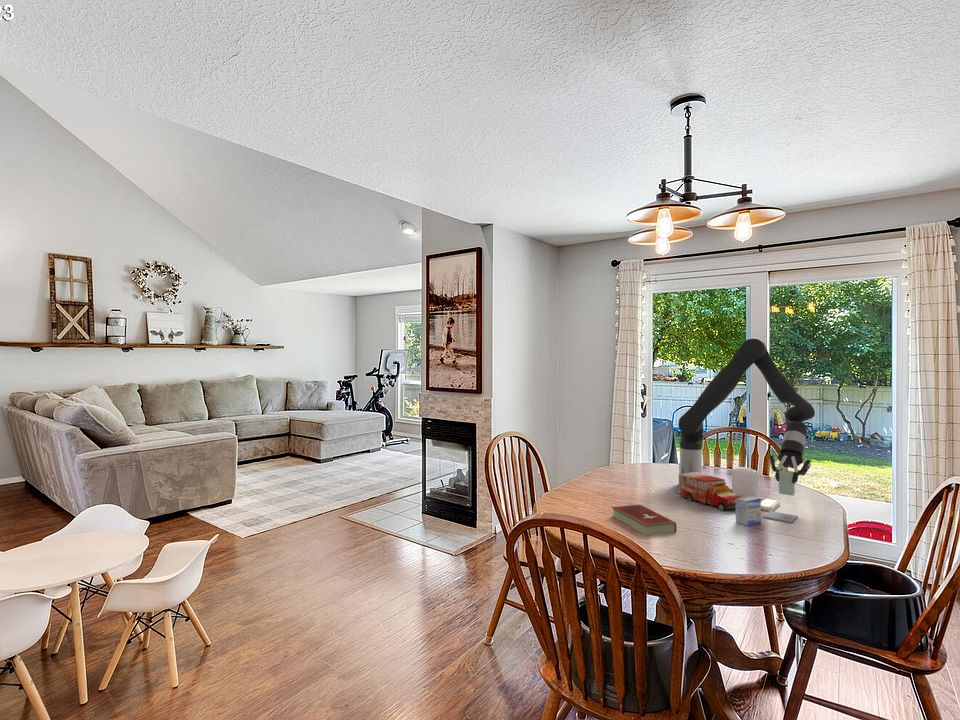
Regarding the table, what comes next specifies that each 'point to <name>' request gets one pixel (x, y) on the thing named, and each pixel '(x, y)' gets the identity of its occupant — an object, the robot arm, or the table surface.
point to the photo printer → (745, 482)
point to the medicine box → (748, 510)
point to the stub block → (786, 483)
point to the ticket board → (769, 504)
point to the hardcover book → (644, 519)
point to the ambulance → (707, 490)
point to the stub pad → (780, 516)
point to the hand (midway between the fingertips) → (785, 481)
